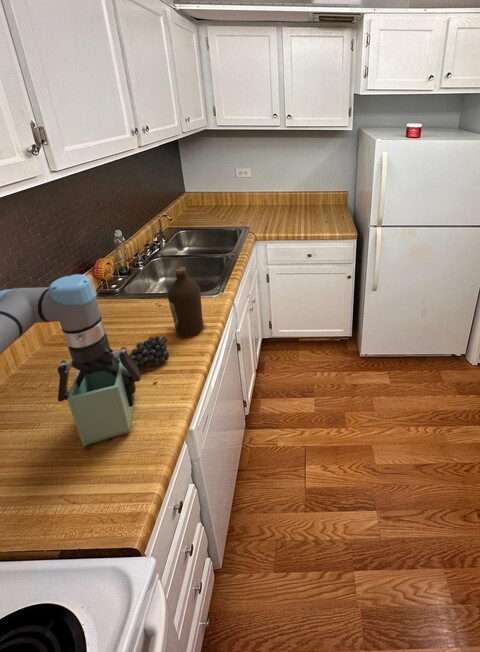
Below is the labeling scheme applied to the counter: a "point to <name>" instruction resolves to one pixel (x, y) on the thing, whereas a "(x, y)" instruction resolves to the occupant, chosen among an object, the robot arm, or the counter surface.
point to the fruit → (150, 352)
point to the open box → (100, 406)
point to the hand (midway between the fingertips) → (108, 408)
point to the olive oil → (185, 305)
